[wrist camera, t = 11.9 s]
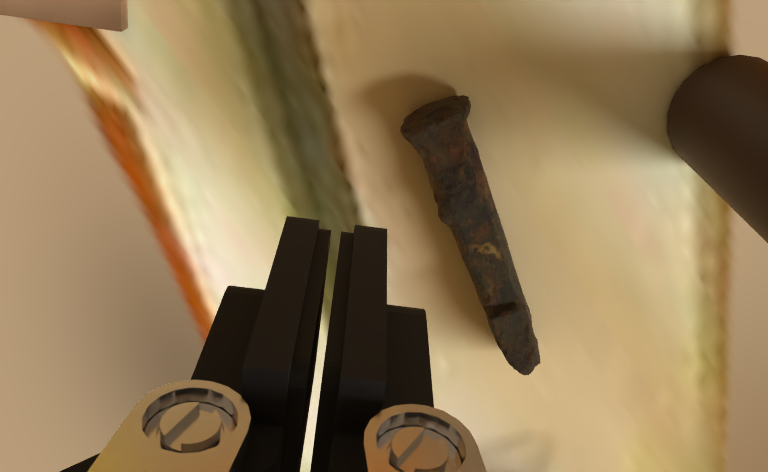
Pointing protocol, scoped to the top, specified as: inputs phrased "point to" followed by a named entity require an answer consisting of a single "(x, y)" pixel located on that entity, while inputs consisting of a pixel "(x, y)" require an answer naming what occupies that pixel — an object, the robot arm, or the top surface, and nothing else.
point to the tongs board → (71, 12)
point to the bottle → (727, 132)
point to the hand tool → (474, 222)
